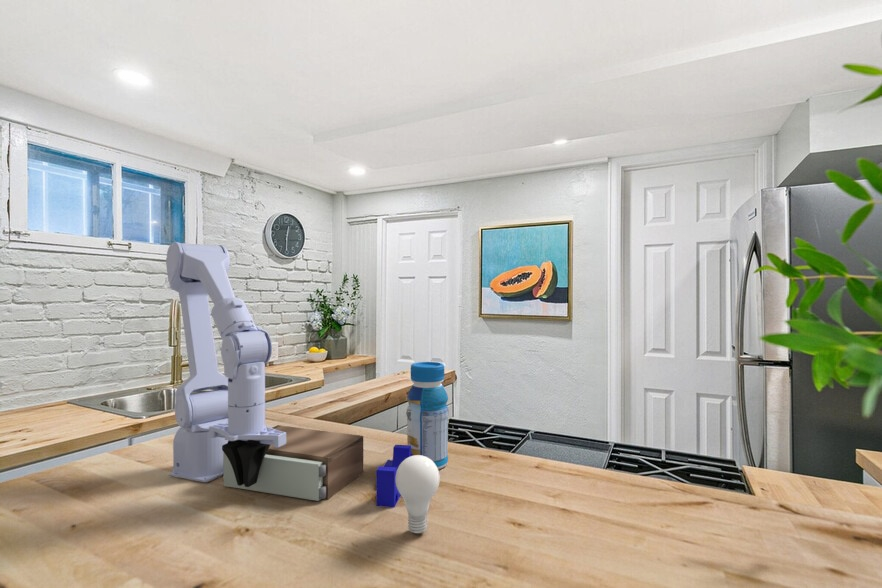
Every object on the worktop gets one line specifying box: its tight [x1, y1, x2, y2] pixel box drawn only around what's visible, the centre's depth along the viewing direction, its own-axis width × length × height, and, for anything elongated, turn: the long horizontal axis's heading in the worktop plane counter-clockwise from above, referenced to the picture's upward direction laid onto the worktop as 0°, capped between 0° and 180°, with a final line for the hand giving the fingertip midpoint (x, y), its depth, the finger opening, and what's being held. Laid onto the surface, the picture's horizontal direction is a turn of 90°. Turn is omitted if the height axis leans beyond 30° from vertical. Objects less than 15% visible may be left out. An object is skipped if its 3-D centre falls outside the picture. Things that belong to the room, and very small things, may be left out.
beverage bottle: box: [405, 361, 450, 470], centre depth 90 cm, size 8×8×20 cm
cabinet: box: [266, 424, 365, 500], centre depth 84 cm, size 20×12×7 cm, turn 70°
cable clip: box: [375, 444, 411, 508], centre depth 78 cm, size 12×4×6 cm, turn 171°
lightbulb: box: [395, 455, 441, 535], centre depth 65 cm, size 6×6×11 cm
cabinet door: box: [222, 452, 326, 502], centre depth 77 cm, size 20×1×6 cm, turn 72°
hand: (247, 483), depth 75 cm, fingers closed
